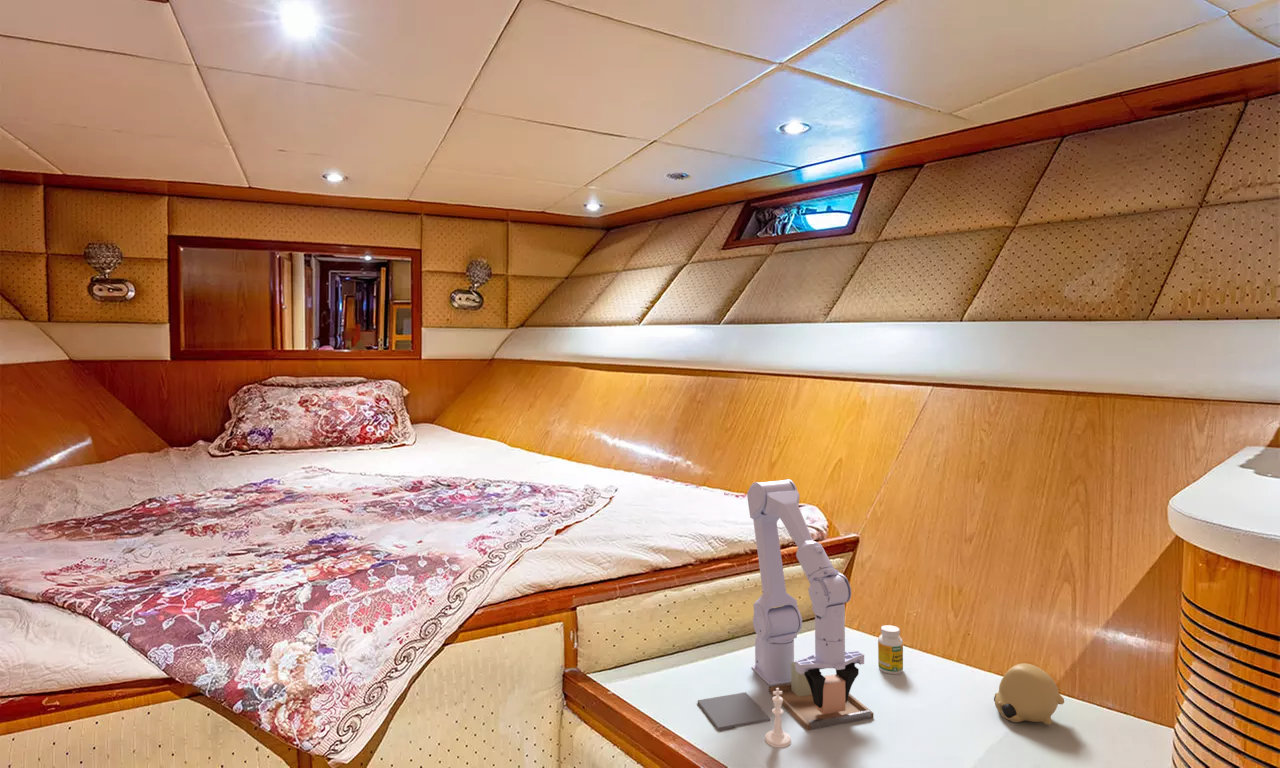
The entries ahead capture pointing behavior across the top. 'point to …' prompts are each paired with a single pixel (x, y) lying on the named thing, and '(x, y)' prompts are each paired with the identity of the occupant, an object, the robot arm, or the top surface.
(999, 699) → the tan animal figurine
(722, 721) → the mat
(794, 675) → the khaki rectangular block
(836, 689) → the salmon pink box
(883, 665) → the supplement bottle
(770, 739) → the chess piece
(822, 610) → the robot arm
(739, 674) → the top surface
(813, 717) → the wooden serving tray
